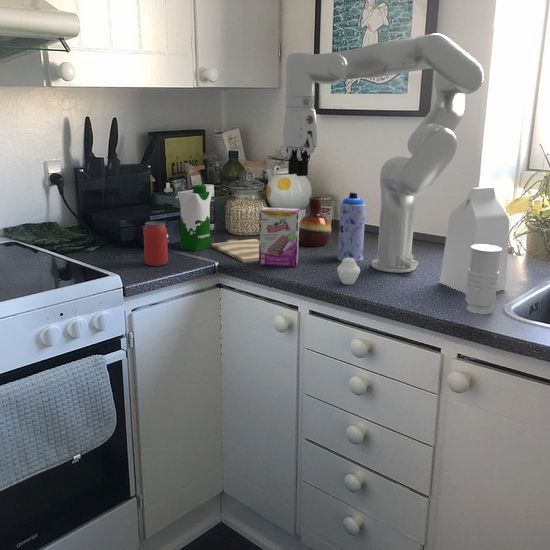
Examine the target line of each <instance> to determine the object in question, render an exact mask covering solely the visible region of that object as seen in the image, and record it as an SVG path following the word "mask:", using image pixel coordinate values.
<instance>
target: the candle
mask: <svg viewBox="0 0 550 550" xmlns="http://www.w3.org/2000/svg"><path fill="white" fill-rule="evenodd" d="M471 249H472V252H471V261H470V268H469V269H468V276H467V277H468V279H467V282H468V283H467V285H466V287H467V293H466V294H465V299H464V301H465V303H467V306H466V308H465V310H466V309H467V310H469V311H470V312H469V311H468V312H469V313H472V312H473V313H472V314H476V313H479V314H478V315H489V314H488V313H490V314H492V313H493V309H492V307H493V306H495V305H496V297H497V295H496V294H497V292H496V290H497V285H498V280H499V277H498V276H499V271H498V268H499V260H500V252H501V251H502V248H500V247H498V246H494V245H486V244H476V245H472V246H471ZM467 310H466V311H467Z"/></svg>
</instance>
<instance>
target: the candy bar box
mask: <svg viewBox="0 0 550 550" xmlns="http://www.w3.org/2000/svg"><path fill="white" fill-rule="evenodd" d="M300 210H301V209H300V208H287V207H284V208H283V207H267V206H265V207H264V206H262V207H261V209H260V210H259V237H258V240H259V261H258V266H267V267H268V266H269V267H271V266H272V267H284V268H285V267H286V268H287V267H289V268H296V267H297V265H298V263H299V261H298V260H299V241H300V240H299V222H300V212H301V211H300Z"/></svg>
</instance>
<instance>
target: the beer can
mask: <svg viewBox="0 0 550 550" xmlns="http://www.w3.org/2000/svg"><path fill="white" fill-rule="evenodd" d="M168 249H169V248H168V229H167V227H166V223H165V222H164V221H158V220H156V221H155V220H153V221H152V220H151V221H150V220H149V221H146V222H145V223H144V228H143V252H144V253H143V254H144V263H145V264H146V265H147V266H149V265H150V266H149V267H162V266H165V265H166V264H168V262H169V257H168V256H169V254H168V253H169V252H168V251H169V250H168ZM161 265H162V266H161Z"/></svg>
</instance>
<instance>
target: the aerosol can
mask: <svg viewBox="0 0 550 550" xmlns="http://www.w3.org/2000/svg"><path fill="white" fill-rule="evenodd" d="M365 217H366V203H365V202H364V200H363V199H362V198H360V197H359V196H358V193H356V192H349V194H348V197H346V198H344V199H343V200H342V201H341V202H340V204H339V226H338V227H339V228H338V248H337V256H336V258H337V260H338V261H341V262H342V261H343V259H345V258H349V257H350V258H353V259H354V260H355V261H356V263H357V262H362V261H363V260H364V257H363V255H364V254H363V253H364V240H365V239H364V238H365V237H364V236H365V222H366V221H365V220H366V218H365Z"/></svg>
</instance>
